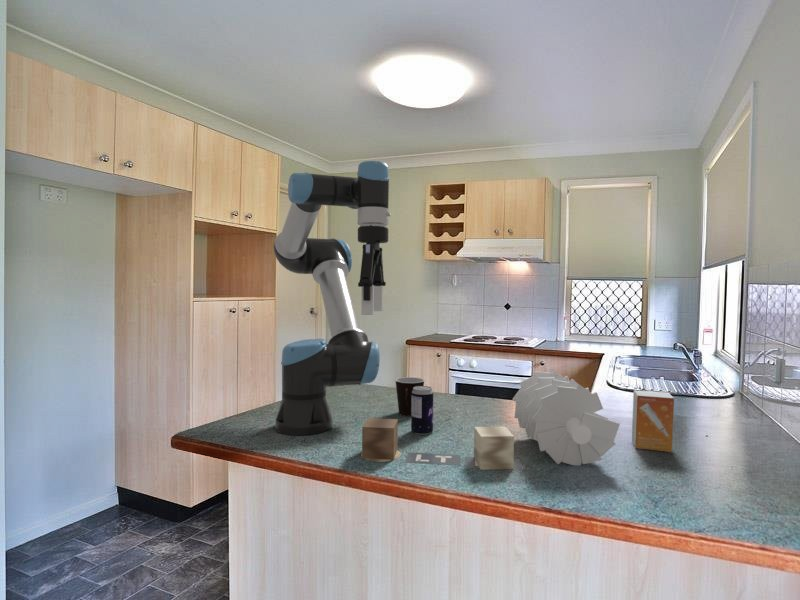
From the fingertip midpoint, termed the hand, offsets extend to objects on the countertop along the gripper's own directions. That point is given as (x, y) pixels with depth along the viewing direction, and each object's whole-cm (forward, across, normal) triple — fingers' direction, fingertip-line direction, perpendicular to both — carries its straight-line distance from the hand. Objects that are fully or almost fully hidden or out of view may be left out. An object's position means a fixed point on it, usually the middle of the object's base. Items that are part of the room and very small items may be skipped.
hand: (372, 313), depth 124 cm
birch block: (+31, -13, -29) cm, 45 cm away
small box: (+32, +5, -68) cm, 75 cm away
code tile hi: (+32, -13, -29) cm, 45 cm away
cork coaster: (+32, -11, -4) cm, 34 cm away
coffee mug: (+32, +25, -6) cm, 41 cm away
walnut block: (+31, -11, -4) cm, 33 cm away
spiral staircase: (+32, -2, -45) cm, 55 cm away
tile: (+32, -12, -16) cm, 37 cm away
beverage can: (+32, +7, -12) cm, 35 cm away
